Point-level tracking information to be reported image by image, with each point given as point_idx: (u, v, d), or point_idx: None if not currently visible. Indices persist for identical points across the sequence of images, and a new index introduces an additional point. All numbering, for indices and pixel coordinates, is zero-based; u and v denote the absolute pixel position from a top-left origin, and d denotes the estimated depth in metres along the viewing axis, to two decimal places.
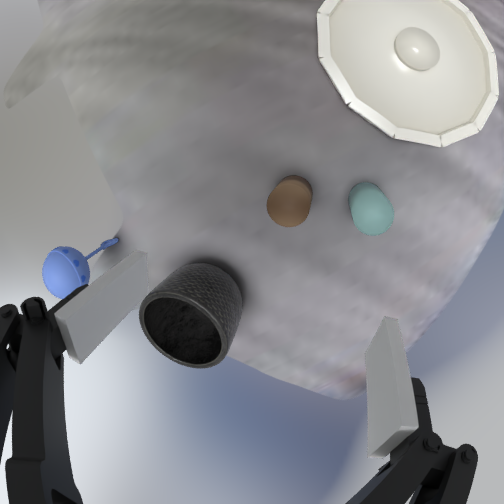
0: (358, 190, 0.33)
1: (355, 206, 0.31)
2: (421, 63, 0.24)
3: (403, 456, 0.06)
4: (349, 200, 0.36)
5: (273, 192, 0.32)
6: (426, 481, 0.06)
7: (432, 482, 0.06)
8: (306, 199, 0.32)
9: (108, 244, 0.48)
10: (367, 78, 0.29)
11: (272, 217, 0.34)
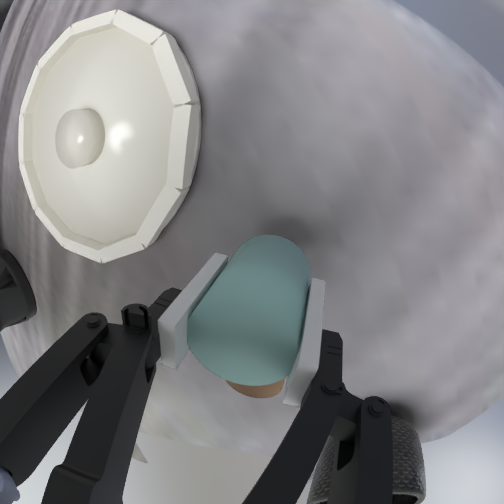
0: None
1: (218, 374, 0.13)
2: (86, 138, 0.21)
3: (303, 404, 0.08)
4: None
5: (231, 385, 0.23)
6: (336, 432, 0.09)
7: (343, 435, 0.08)
8: None
9: None
10: (120, 207, 0.26)
11: (265, 396, 0.22)
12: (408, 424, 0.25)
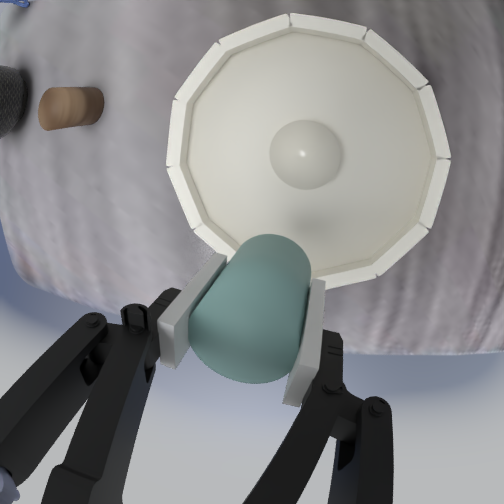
0: None
1: (219, 372, 0.13)
2: (279, 164, 0.23)
3: (304, 404, 0.08)
4: None
5: (53, 88, 0.21)
6: (337, 432, 0.09)
7: (344, 435, 0.08)
8: (58, 119, 0.22)
9: (18, 3, 0.19)
10: (226, 105, 0.24)
11: (40, 103, 0.22)
12: None
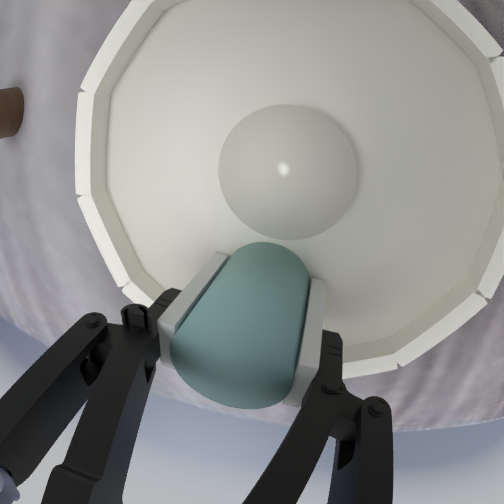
0: None
1: (207, 396, 0.12)
2: (237, 193, 0.13)
3: (304, 404, 0.08)
4: None
5: None
6: (336, 432, 0.09)
7: (343, 435, 0.08)
8: None
9: None
10: (155, 90, 0.13)
11: None
12: None
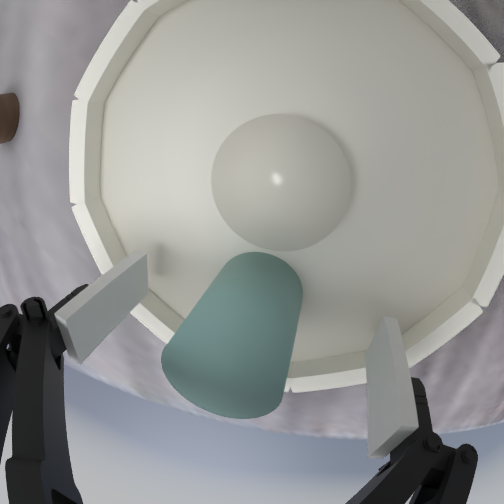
0: None
1: (199, 405, 0.11)
2: (230, 204, 0.13)
3: (403, 456, 0.06)
4: None
5: None
6: (426, 481, 0.06)
7: (432, 482, 0.06)
8: None
9: None
10: (149, 99, 0.13)
11: None
12: None
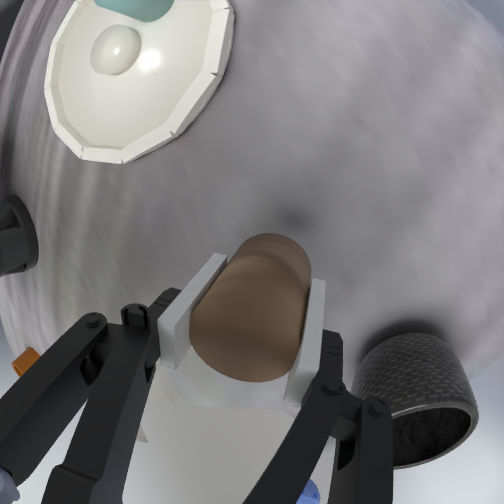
0: None
1: None
2: (125, 44, 0.21)
3: (304, 404, 0.08)
4: None
5: (204, 359, 0.13)
6: (337, 432, 0.09)
7: (344, 435, 0.08)
8: (222, 300, 0.11)
9: None
10: (149, 106, 0.25)
11: (266, 378, 0.13)
12: None
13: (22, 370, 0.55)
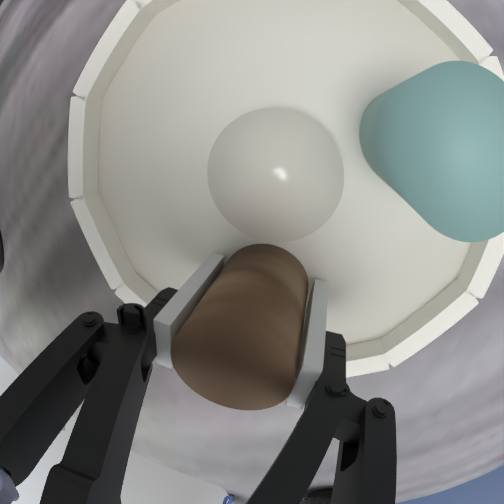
0: None
1: None
2: (316, 210, 0.12)
3: (308, 406, 0.08)
4: None
5: (190, 385, 0.11)
6: (340, 434, 0.09)
7: (347, 437, 0.08)
8: (206, 327, 0.10)
9: None
10: None
11: (258, 407, 0.11)
12: None
13: None
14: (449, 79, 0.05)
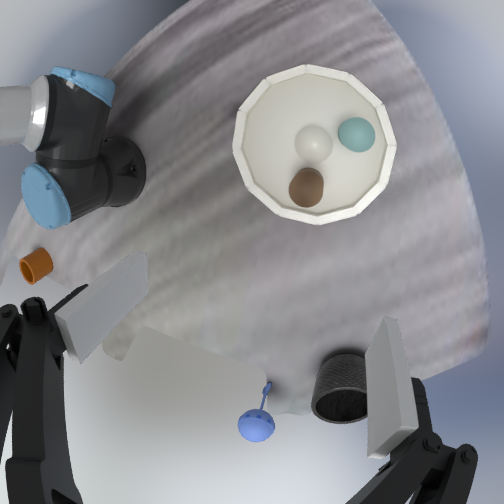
0: None
1: (374, 136, 0.34)
2: (325, 154, 0.42)
3: (403, 456, 0.06)
4: None
5: (292, 199, 0.41)
6: (427, 481, 0.06)
7: (432, 482, 0.06)
8: (301, 175, 0.39)
9: (267, 390, 0.67)
10: None
11: (313, 204, 0.40)
12: None
13: (33, 269, 0.66)
14: (351, 121, 0.34)
